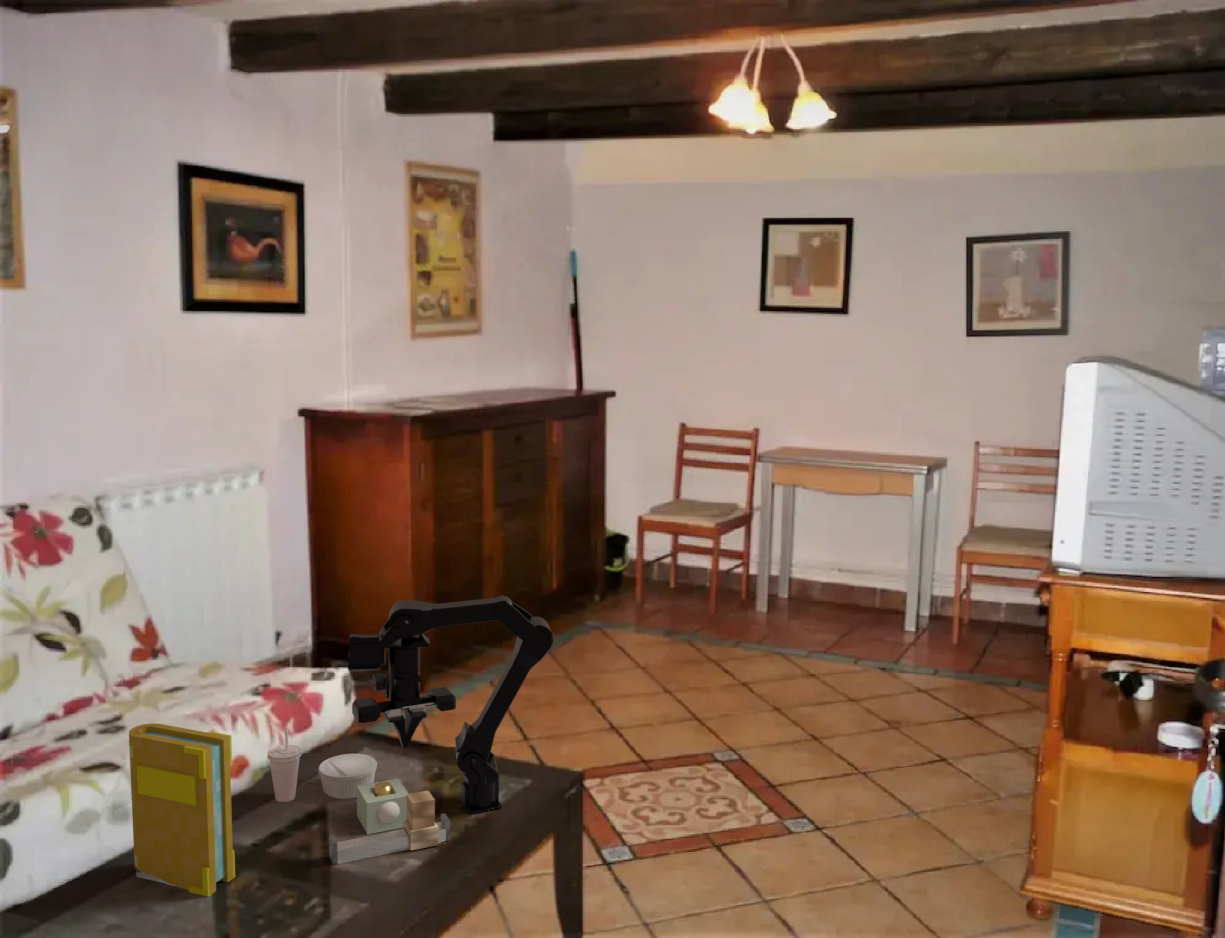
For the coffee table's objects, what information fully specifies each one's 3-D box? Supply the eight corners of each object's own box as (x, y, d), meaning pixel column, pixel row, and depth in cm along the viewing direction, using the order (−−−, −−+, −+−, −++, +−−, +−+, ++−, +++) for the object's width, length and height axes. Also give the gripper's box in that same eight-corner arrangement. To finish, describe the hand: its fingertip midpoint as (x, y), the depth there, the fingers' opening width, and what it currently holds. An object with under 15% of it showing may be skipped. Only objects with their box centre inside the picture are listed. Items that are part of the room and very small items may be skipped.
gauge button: (389, 801, 203) (388, 780, 202) (393, 808, 200) (393, 786, 200) (373, 804, 202) (373, 783, 201) (377, 811, 199) (377, 789, 198)
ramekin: (307, 796, 211) (307, 770, 210) (340, 773, 221) (340, 749, 220) (356, 806, 207) (355, 780, 206) (387, 783, 217) (387, 758, 217)
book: (235, 876, 180) (231, 735, 177) (208, 896, 174) (203, 750, 170) (154, 857, 186) (148, 720, 182) (125, 876, 180) (118, 734, 176)
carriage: (429, 832, 197) (429, 788, 195) (438, 845, 192) (438, 800, 191) (403, 837, 194) (402, 793, 193) (411, 850, 190) (410, 805, 189)
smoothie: (292, 806, 206) (290, 737, 204) (261, 803, 207) (260, 734, 205) (308, 792, 212) (307, 725, 210) (278, 788, 213) (277, 721, 211)
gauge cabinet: (398, 807, 207) (398, 778, 206) (410, 826, 199) (410, 795, 198) (357, 815, 203) (356, 785, 202) (367, 834, 196) (367, 803, 195)
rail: (445, 833, 197) (445, 813, 196) (450, 841, 194) (450, 820, 194) (329, 857, 188) (329, 835, 187) (332, 865, 185) (332, 843, 184)
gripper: (439, 650, 213) (439, 725, 216) (345, 661, 205) (346, 739, 207) (457, 667, 203) (456, 745, 206) (358, 680, 195) (359, 761, 197)
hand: (404, 747), depth 204 cm, fingers closed
